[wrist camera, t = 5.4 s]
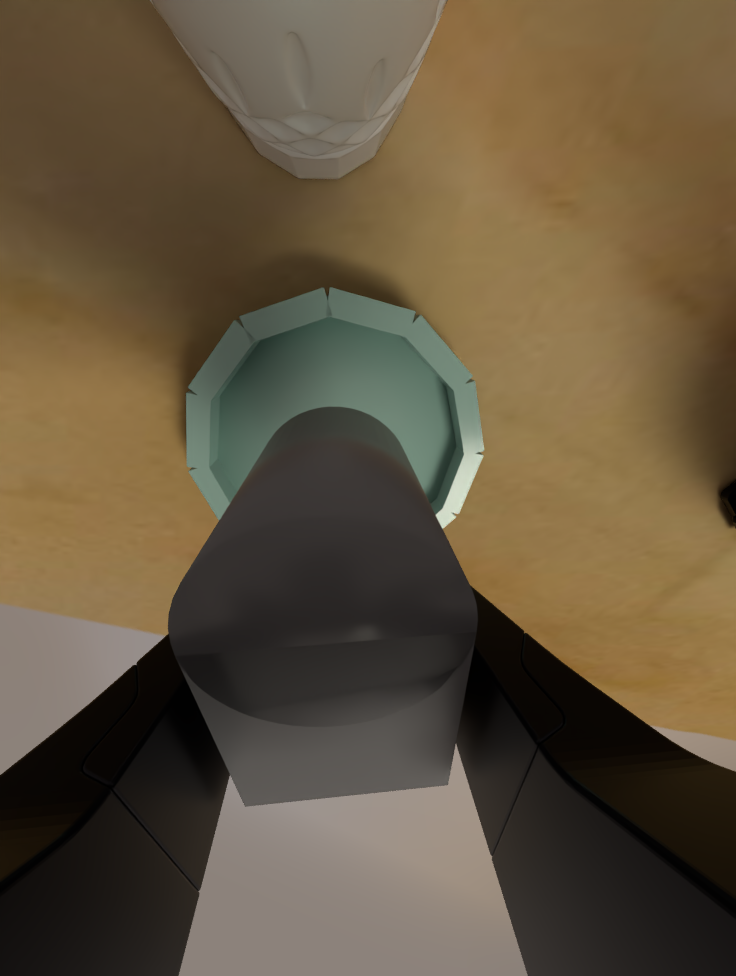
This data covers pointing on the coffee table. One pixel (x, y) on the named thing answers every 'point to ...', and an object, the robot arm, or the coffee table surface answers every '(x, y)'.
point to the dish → (334, 391)
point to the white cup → (308, 71)
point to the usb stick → (328, 620)
